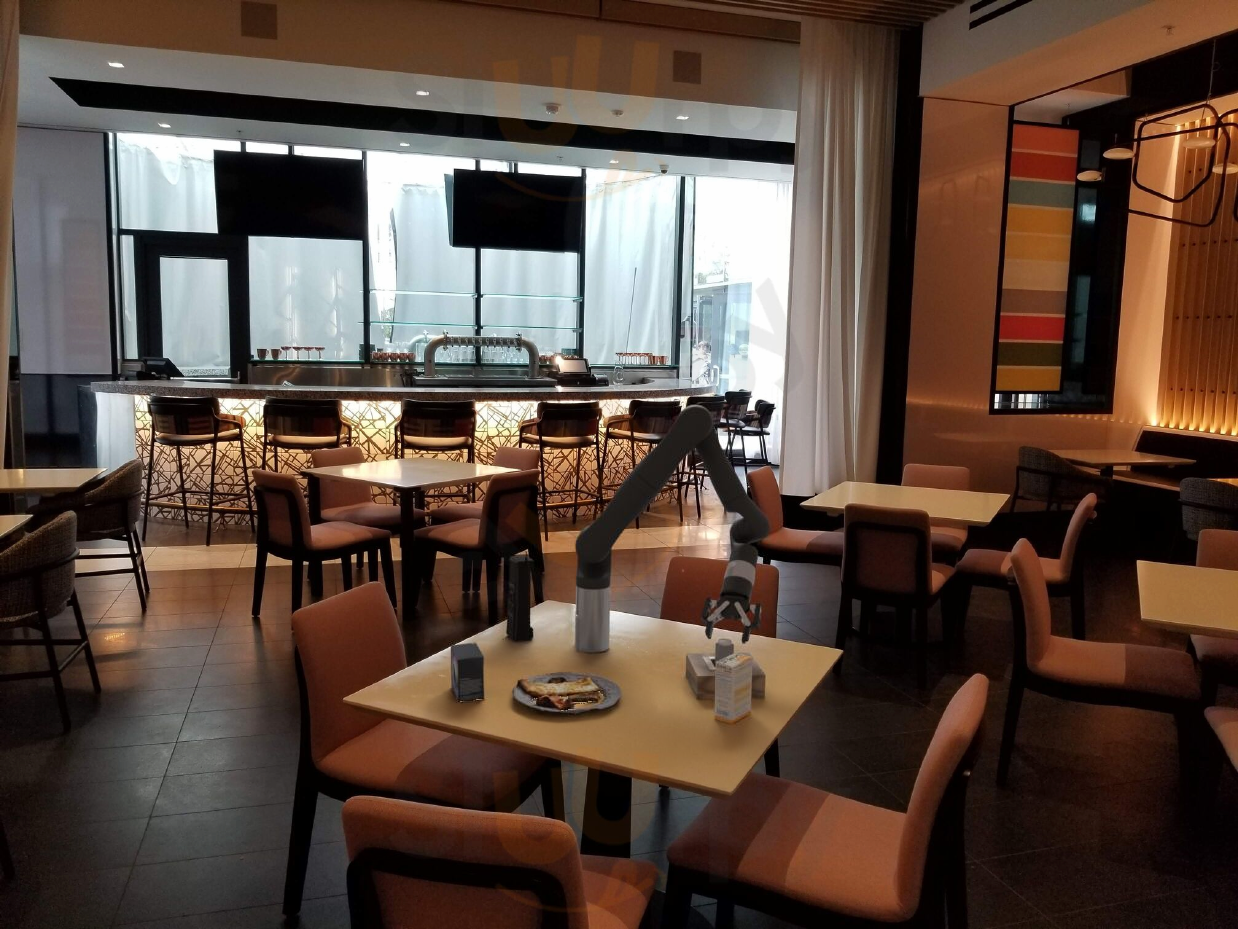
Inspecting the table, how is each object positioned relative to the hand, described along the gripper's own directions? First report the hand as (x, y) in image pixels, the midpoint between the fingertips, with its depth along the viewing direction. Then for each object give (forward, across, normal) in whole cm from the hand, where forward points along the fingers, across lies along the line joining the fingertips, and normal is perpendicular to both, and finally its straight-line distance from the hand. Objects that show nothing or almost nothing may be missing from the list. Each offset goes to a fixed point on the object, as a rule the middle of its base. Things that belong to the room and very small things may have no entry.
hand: (726, 639), depth 217 cm
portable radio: (-1, -62, +18) cm, 64 cm away
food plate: (+25, -32, -8) cm, 41 cm away
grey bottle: (+8, 0, +6) cm, 10 cm away
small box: (+29, -54, -12) cm, 63 cm away
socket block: (+9, 0, +7) cm, 11 cm away
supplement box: (+21, +6, -5) cm, 23 cm away
